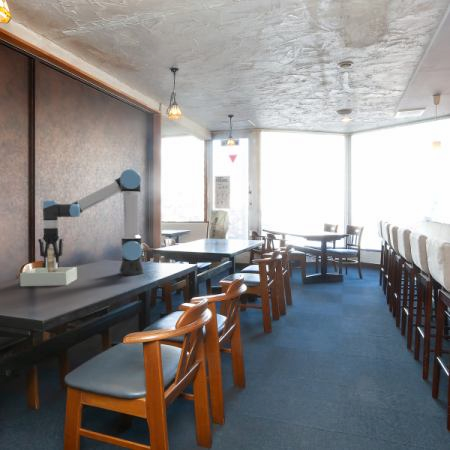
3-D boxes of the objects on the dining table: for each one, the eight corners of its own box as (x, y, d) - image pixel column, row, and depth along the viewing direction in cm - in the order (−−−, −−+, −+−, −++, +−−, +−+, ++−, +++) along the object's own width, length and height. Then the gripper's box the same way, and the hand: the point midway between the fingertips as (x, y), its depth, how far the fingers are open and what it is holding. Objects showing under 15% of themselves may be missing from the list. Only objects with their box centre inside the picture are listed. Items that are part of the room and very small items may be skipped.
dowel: (54, 273, 210) (53, 248, 210) (46, 273, 210) (46, 249, 209) (56, 272, 214) (56, 248, 214) (49, 272, 214) (49, 248, 213)
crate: (77, 278, 219) (76, 267, 219) (66, 285, 201) (66, 272, 201) (35, 279, 217) (34, 268, 217) (20, 286, 200) (20, 273, 199)
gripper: (68, 227, 215) (69, 267, 216) (38, 227, 214) (39, 267, 215) (63, 227, 208) (64, 269, 209) (32, 228, 207) (33, 269, 208)
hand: (51, 268), depth 212 cm, fingers closed on dowel, 4 cm apart
